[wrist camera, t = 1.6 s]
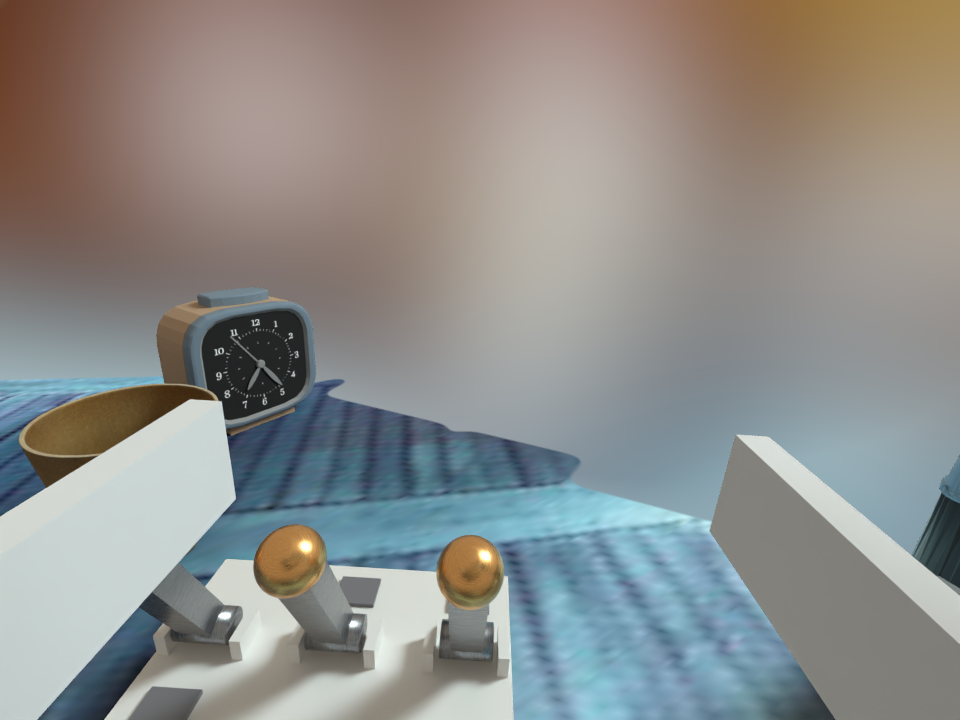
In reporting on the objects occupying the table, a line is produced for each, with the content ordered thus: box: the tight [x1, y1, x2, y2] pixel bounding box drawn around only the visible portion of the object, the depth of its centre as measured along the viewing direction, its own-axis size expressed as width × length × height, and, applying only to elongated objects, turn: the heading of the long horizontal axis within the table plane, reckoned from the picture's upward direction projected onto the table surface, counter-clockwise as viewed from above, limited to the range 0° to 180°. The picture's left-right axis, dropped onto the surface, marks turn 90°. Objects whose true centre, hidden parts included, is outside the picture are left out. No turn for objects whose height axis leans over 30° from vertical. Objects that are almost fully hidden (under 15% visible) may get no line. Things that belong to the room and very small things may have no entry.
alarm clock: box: [156, 287, 316, 436], centre depth 73 cm, size 21×10×22 cm, turn 147°
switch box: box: [104, 559, 514, 720], centre depth 30 cm, size 24×14×10 cm, turn 88°
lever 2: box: [436, 535, 504, 662], centre depth 25 cm, size 3×3×14 cm
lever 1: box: [139, 563, 243, 645], centre depth 25 cm, size 3×3×14 cm
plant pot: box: [19, 384, 218, 554], centre depth 45 cm, size 15×15×16 cm
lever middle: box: [253, 524, 367, 653], centre depth 25 cm, size 3×3×14 cm
